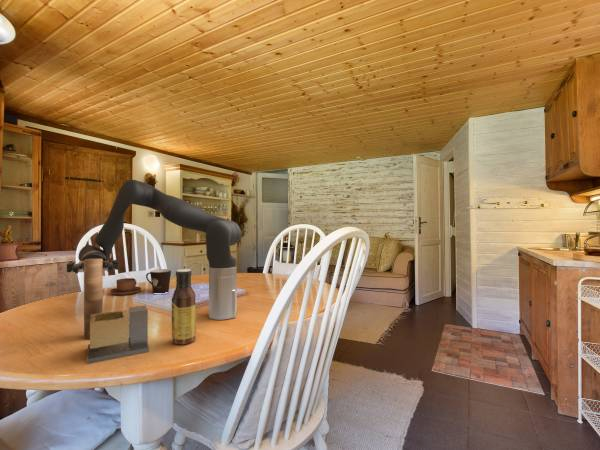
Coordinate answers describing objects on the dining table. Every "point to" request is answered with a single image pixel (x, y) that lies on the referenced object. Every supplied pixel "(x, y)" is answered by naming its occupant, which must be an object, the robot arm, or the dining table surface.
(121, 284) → the cup and saucer
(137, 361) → the dining table surface
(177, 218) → the robot arm
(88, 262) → the rod
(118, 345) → the bracket
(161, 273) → the coffee mug
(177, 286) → the sauce bottle
